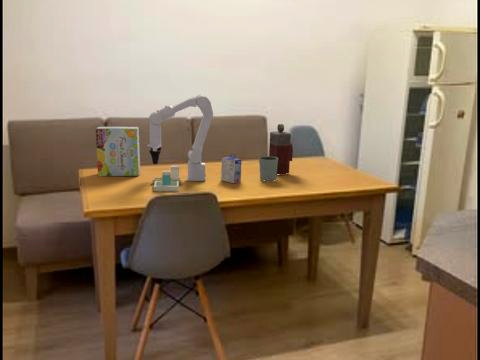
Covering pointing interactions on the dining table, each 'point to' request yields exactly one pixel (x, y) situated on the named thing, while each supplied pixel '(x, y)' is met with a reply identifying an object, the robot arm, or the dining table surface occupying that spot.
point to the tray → (159, 186)
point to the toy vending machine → (281, 149)
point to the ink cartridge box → (231, 169)
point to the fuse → (174, 172)
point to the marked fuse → (166, 178)
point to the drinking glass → (268, 168)
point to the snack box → (118, 151)
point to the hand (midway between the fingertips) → (155, 162)
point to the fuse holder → (161, 179)
